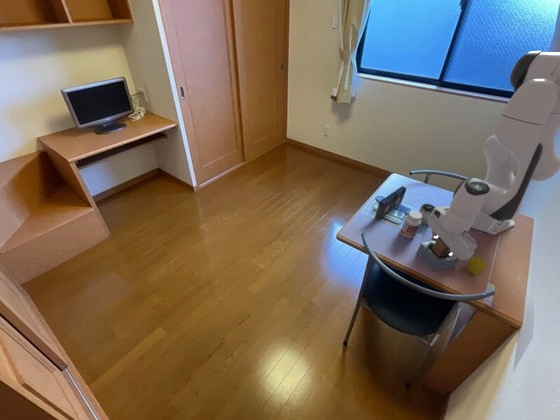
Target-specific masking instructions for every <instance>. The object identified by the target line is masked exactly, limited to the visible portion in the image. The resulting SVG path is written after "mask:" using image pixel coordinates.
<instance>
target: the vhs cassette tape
mask: <svg viewBox="0 0 560 420" xmlns="http://www.w3.org/2000/svg"><path fill="white" fill-rule="evenodd" d="M405 193H407V187H405V186H404V185H402V186H401V187H399V188H396V190H395V191H393V192H391V193H390V194H389V195H387V196H386V197H385V198H383V199H381V200H380V201H379V202H378V206H377V209H376V212H375V216H374V218H375V219H376V220H378V221H380V220H382V219H383V218H385V217H386V216H387V215H389V214H390V213H391V212H392V210H393V209H394V208H395V207H396V206H398V205H399V204H401V205H402V202H403V199H404V197H405ZM399 206H400V205H399ZM399 206H398V207H399ZM395 209H396V208H395ZM395 209H394V210H395ZM394 210H393V211H394ZM390 211H391V212H390ZM389 212H390V213H389ZM388 213H389V214H388ZM386 214H387V215H386ZM385 215H386V216H385ZM384 216H385V217H384Z"/></svg>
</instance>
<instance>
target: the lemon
mask: <svg viewBox="0 0 560 420" xmlns="http://www.w3.org/2000/svg"><path fill="white" fill-rule="evenodd" d="M468 260H469V261H468V262H467V264H466V269H467V270H468V271H467V272H469V273H470V274H472V275H481V274H482V273H484V272H485V270H486V268H487V262H486V261H485V260H484V259H483V258H482V257H477V256H476V257H475V256H474V257H471V258H470V259H468Z"/></svg>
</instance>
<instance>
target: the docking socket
mask: <svg viewBox="0 0 560 420" xmlns="http://www.w3.org/2000/svg"><path fill="white" fill-rule="evenodd" d="M435 242H436V241H433V240H432V241H426V242H421V243H420V245H419V247H418V249H417V251H416V252H417V253H418V255H419V256H420V257H421V259H423V261H424V262H425V264H427V266H428V267H429V269H430V270H431V271H432V272H435V271H439V270H440V271H441V270H443V269H449V268H454V267H456V265H458V262H460V259H459V258H458V257H457V256H455V257H454V258H453V259H451V260H450V259H449V258H448V257H447V256H448V255H447V256H446V258H441V259H438V258H437V257H436V256H435V254H434V253H433V252H432V251H431V249H432V247H433V246H434V244H435ZM451 253H452V250H450V251H449V253H448V254H451Z"/></svg>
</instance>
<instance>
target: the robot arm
mask: <svg viewBox="0 0 560 420" xmlns="http://www.w3.org/2000/svg"><path fill="white" fill-rule="evenodd" d="M509 82H510V86H511V87H513V92H514V93H513V94H512V96H511V97H510V99H509V100H508V102H507V103H506V105H505V106H504V108H503V109H502V111H501V113H500V114H499V117H498V119H497V120H496V123H495V124H494V127H493V134H492V135H491V136H489V137H488V138H486V141H484V144H483V146H482V151H483V154H484V156H485V158H486V159H485V160H486V163H487V172H486V177H485V179H484V180H483V179H480V178H476V177H471V178H466V179H463V180H461V182H459V183H458V185H457V186H456V189H455V190H454V191H453V192H454V193H453V195H452V200H451V202H450V205H444V206H436V207H435V208H434V209H433V212H432V213H431V214H430V215H429V217H428V219H427V224H426V225H428V226H429V228H431V237H430V239H431V240H432V241H436V240H437V238H438V237H440V238H441V239H442V241H443V242H444V243H445V244H446V245H447V246H448V247H449V248H450V249H451V250H452V253H451V254H448V256H447V257H448V258H449V259H450V260H451V259H453V258H454V257H455V256H457V257H458V258H459V259H460V260H461V261H467V260H471V259H472V258H473V255H474V252H475V251H476V249H477V247H478V245H477V243H476V239H475V238H474V237H473V236H472V235H471V234H470V233H469V231H470V229H471V228H472V229H474V230H478V231H480V232H481V231H482V232H485V233H488V234H490V235H492V236H493V235H497V234H499V233H501V232H504V231H506V230H508V229H510V228H513V227H515V225H516V222H515V220H514V219H513V218H515V217H516V216H517V215H518V214H519V212H520V211H521V208H522V204H523V200H524V196H525V194H526V192H527V190H528V187H529V186H530V183H531V180H532V181H534V182H544V181H547V180H549V179H551V178H553V177H554V176H555V175H556V174H557V173H558V172H559V170H560V157H559V156H558V154H557V151H556V148H555V136H556V132H557V130H558V128H559V126H560V52H551V51H549V52H548V51H543V50H533V51H528V52H526V53H524V54H523V55H522V56H521V57H520V58H519V59H518V61H517V62H516V63H515V64H514V66H513V68H512V70H511V73H510V77H509ZM514 173H515V174H516V175H515V174H514ZM460 260H459V261H460Z"/></svg>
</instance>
